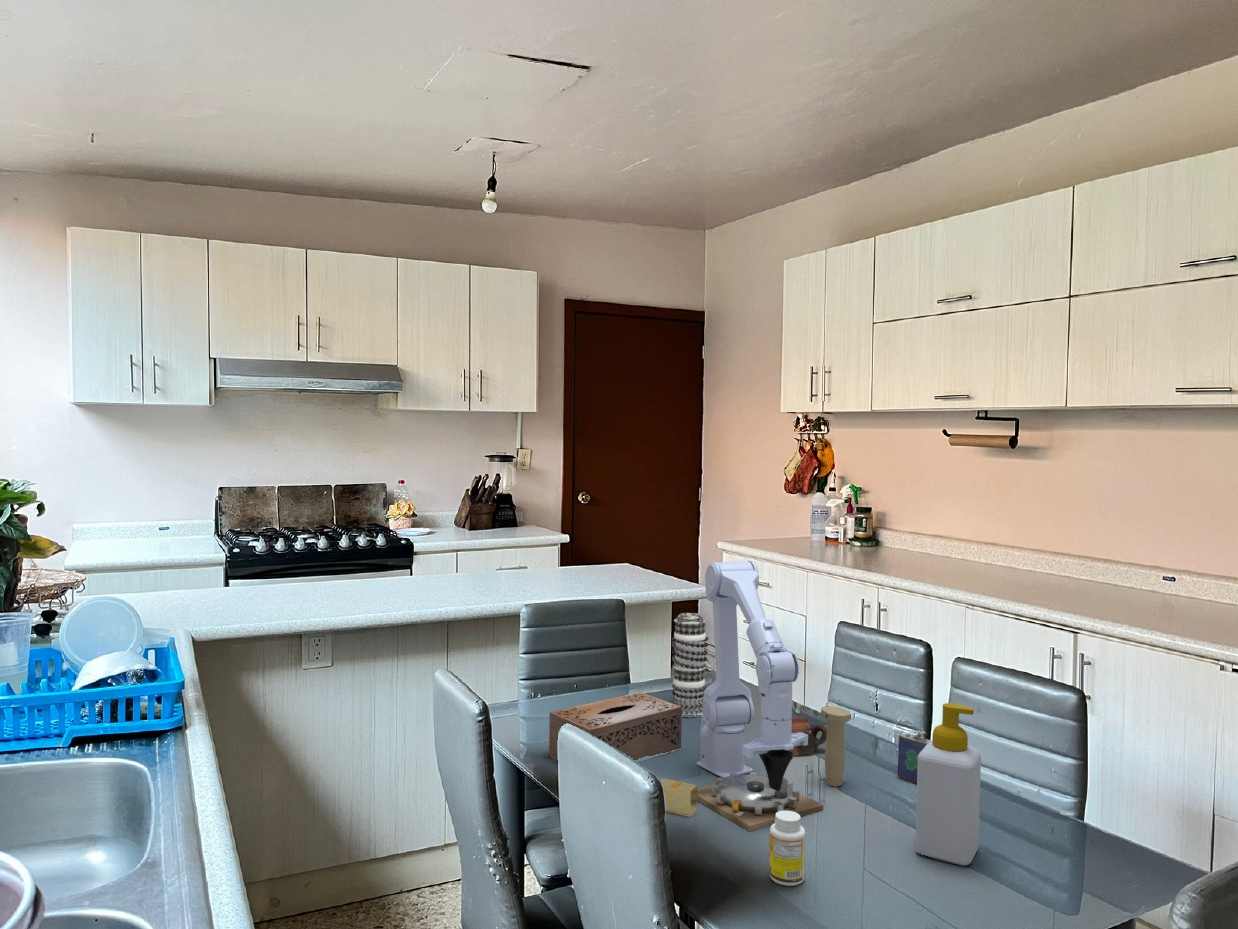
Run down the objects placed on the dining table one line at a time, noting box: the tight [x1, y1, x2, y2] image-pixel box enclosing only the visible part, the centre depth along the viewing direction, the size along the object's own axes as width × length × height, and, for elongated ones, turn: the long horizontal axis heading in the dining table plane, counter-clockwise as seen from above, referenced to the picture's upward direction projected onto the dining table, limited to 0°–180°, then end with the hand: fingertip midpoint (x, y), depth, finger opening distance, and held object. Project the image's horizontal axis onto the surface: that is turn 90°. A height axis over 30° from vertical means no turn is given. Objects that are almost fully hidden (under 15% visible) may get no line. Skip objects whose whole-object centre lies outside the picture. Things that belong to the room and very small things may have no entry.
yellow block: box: [660, 778, 698, 818], centre depth 168 cm, size 7×3×5 cm, turn 62°
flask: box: [897, 730, 932, 785], centre depth 183 cm, size 9×3×11 cm, turn 50°
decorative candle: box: [671, 612, 709, 716], centre depth 226 cm, size 9×9×25 cm
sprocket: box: [711, 771, 801, 815], centre depth 172 cm, size 16×16×4 cm
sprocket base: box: [697, 773, 824, 832], centre depth 172 cm, size 18×18×1 cm
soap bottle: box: [914, 702, 982, 866], centre depth 152 cm, size 9×9×25 cm
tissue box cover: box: [548, 691, 683, 761], centre depth 197 cm, size 26×14×10 cm, turn 130°
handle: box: [820, 705, 852, 788], centre depth 181 cm, size 5×6×15 cm
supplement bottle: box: [769, 811, 806, 887], centre depth 142 cm, size 6×6×10 cm
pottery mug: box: [788, 717, 827, 757], centre depth 202 cm, size 12×10×8 cm
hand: (775, 789), depth 167 cm, fingers closed
